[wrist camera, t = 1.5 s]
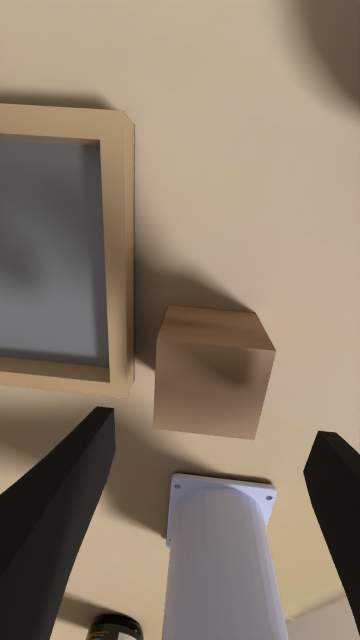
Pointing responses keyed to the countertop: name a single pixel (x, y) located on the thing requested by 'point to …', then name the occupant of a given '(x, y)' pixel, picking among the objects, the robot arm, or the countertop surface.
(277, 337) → the countertop surface
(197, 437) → the countertop surface
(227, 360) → the walnut block
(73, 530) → the robot arm
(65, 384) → the slate tray
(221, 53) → the countertop surface
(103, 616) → the supplement container
